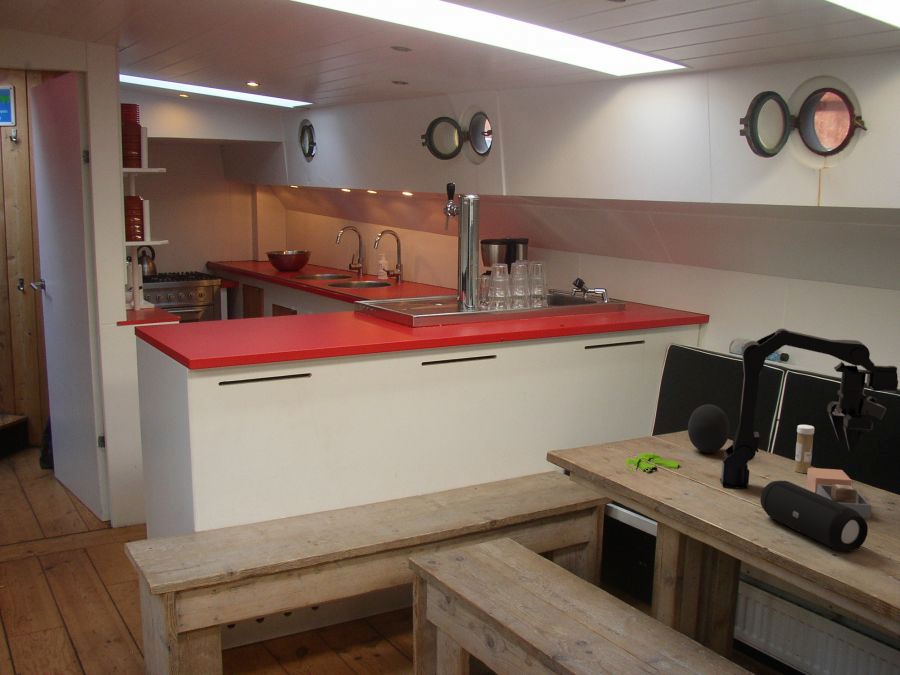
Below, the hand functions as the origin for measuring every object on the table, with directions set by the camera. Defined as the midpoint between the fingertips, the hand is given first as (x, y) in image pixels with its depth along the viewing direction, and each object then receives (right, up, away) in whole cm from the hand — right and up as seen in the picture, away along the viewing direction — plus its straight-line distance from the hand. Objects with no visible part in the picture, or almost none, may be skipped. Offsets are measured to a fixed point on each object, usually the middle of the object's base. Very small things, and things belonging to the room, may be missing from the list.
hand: (846, 446), depth 236 cm
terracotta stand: (-2, -13, +7) cm, 14 cm away
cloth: (-46, -10, +25) cm, 53 cm away
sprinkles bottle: (-3, -10, +23) cm, 25 cm away
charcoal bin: (-4, -15, -7) cm, 17 cm away
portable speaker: (-20, -18, -25) cm, 37 cm away
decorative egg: (-25, -7, +40) cm, 48 cm away
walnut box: (-4, -15, -7) cm, 17 cm away
